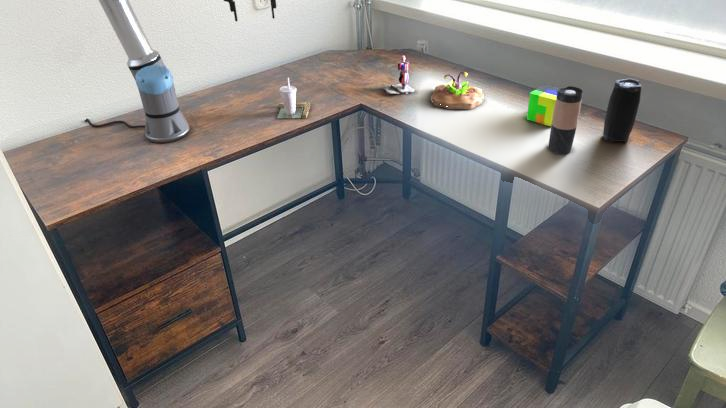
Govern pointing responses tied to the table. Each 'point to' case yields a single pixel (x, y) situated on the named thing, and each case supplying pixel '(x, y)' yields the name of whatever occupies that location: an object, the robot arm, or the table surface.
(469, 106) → the plant
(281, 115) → the corner guide
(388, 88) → the statue
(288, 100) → the smoothie
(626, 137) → the portable speaker
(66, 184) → the table surface
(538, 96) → the puzzle toy
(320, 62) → the table surface
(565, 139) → the travel mug
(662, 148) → the table surface
